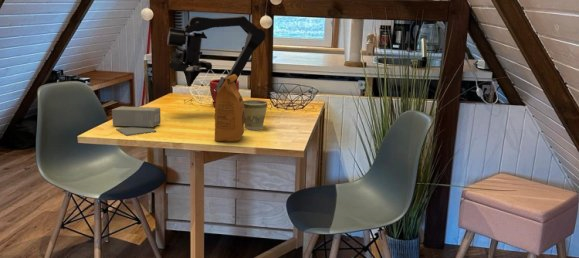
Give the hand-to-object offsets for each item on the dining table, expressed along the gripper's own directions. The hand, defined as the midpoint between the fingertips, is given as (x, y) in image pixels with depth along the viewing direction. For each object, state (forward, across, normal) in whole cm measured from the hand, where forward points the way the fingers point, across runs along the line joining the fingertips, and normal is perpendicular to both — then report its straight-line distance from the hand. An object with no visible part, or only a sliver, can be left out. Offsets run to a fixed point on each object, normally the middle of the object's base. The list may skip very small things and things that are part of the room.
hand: (188, 86), depth 211 cm
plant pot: (+12, -26, -2) cm, 29 cm away
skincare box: (+10, +21, +7) cm, 24 cm away
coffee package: (+9, +16, +38) cm, 43 cm away
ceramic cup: (+8, -4, +34) cm, 35 cm away
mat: (+13, +30, +7) cm, 34 cm away
